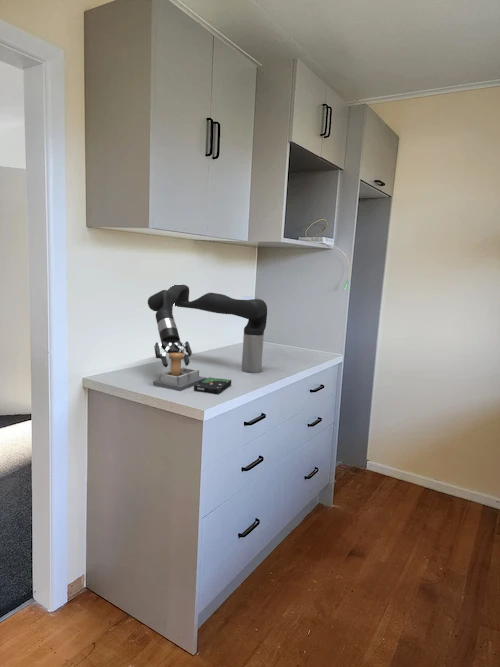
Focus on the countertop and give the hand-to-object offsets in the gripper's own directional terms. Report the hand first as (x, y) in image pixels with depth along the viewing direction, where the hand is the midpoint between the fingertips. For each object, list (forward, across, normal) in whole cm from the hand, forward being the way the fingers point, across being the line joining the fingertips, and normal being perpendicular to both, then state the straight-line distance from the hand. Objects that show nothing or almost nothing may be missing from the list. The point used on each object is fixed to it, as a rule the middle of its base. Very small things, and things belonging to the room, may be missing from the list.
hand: (176, 365), depth 173 cm
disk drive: (+11, -13, -1) cm, 17 cm away
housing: (+3, -3, -8) cm, 9 cm away
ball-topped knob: (+3, 0, -6) cm, 7 cm away
